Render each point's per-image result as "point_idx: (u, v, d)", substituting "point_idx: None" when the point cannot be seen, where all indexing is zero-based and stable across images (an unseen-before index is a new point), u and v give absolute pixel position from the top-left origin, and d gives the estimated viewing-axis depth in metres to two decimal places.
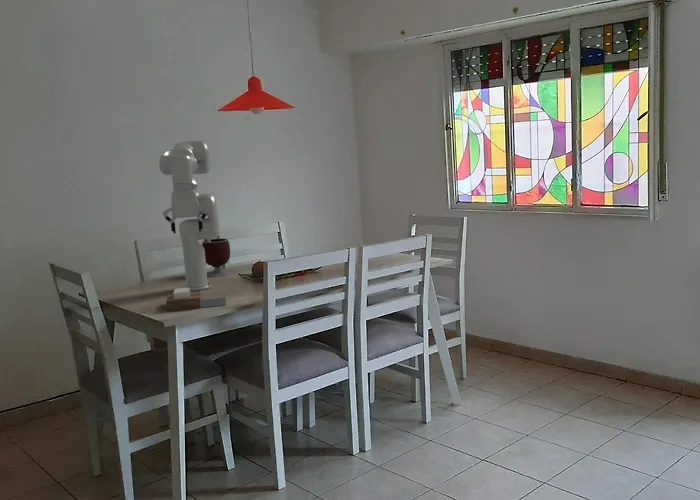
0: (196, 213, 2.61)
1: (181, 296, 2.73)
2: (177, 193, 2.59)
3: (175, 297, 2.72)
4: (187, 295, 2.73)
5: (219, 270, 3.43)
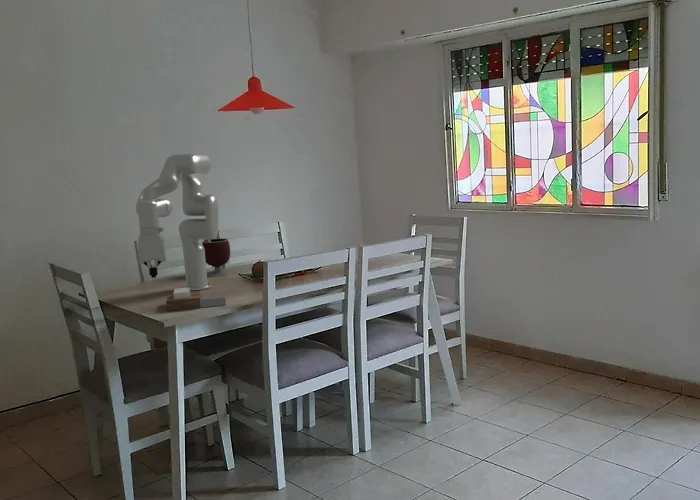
0: (162, 256, 2.71)
1: (181, 296, 2.73)
2: (143, 237, 2.68)
3: (175, 297, 2.72)
4: (187, 295, 2.73)
5: (219, 270, 3.43)
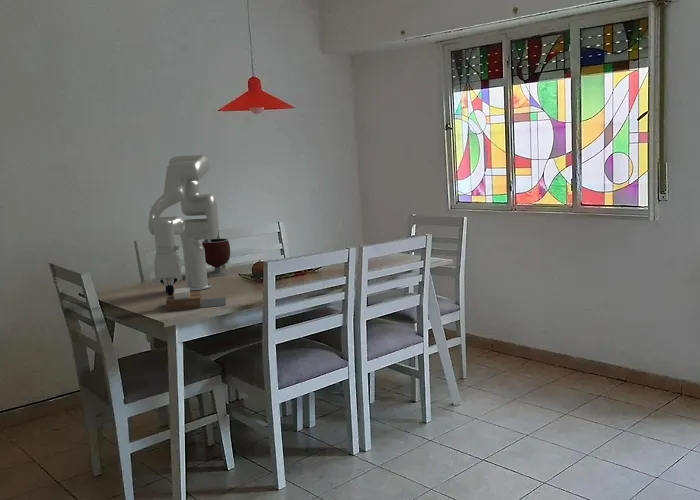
0: (178, 274, 2.74)
1: (181, 296, 2.73)
2: (160, 256, 2.71)
3: (175, 297, 2.72)
4: (187, 295, 2.73)
5: (219, 270, 3.43)
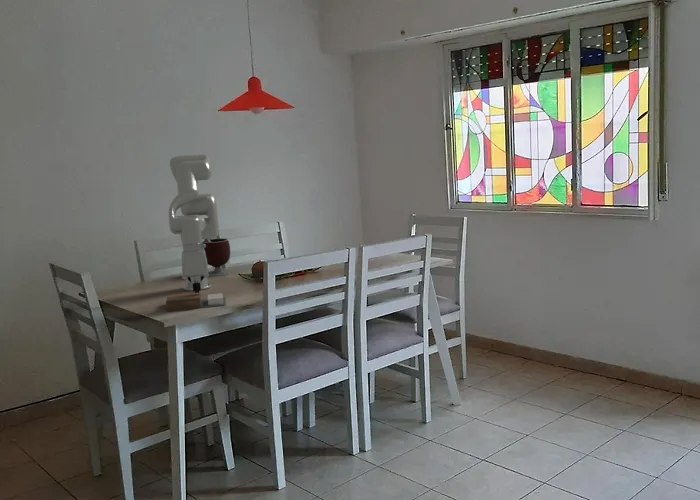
0: (205, 272, 2.75)
1: (215, 300, 2.75)
2: (187, 253, 2.73)
3: (221, 299, 2.76)
4: (209, 301, 2.75)
5: (219, 270, 3.43)
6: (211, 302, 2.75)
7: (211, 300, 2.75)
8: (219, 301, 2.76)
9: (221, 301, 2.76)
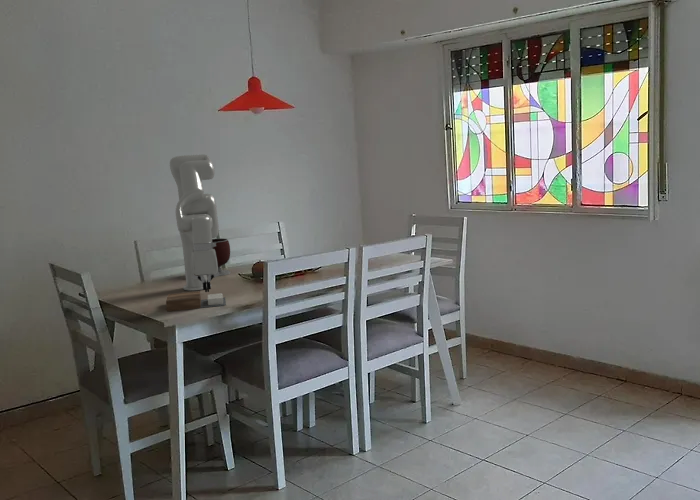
0: (215, 271, 2.76)
1: (215, 300, 2.75)
2: (197, 252, 2.73)
3: (221, 299, 2.76)
4: (209, 301, 2.75)
5: (219, 270, 3.43)
6: (211, 302, 2.75)
7: (211, 300, 2.75)
8: (219, 301, 2.76)
9: (221, 301, 2.76)
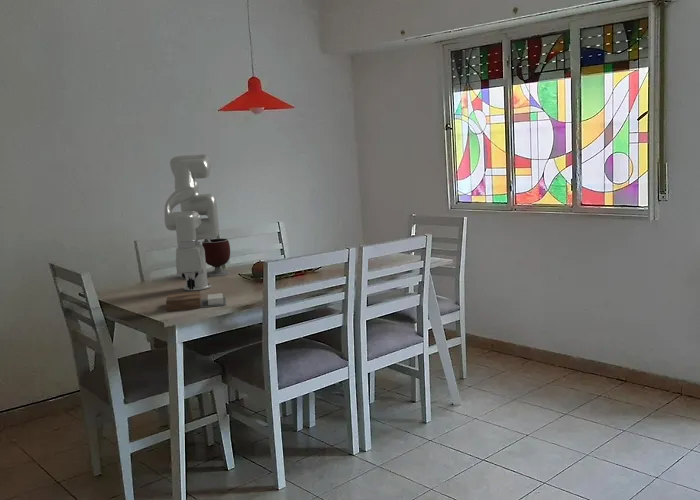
0: (199, 269, 2.75)
1: (215, 300, 2.75)
2: (181, 250, 2.72)
3: (221, 299, 2.76)
4: (209, 301, 2.75)
5: (219, 270, 3.43)
6: (211, 302, 2.75)
7: (211, 300, 2.75)
8: (219, 301, 2.76)
9: (221, 301, 2.76)
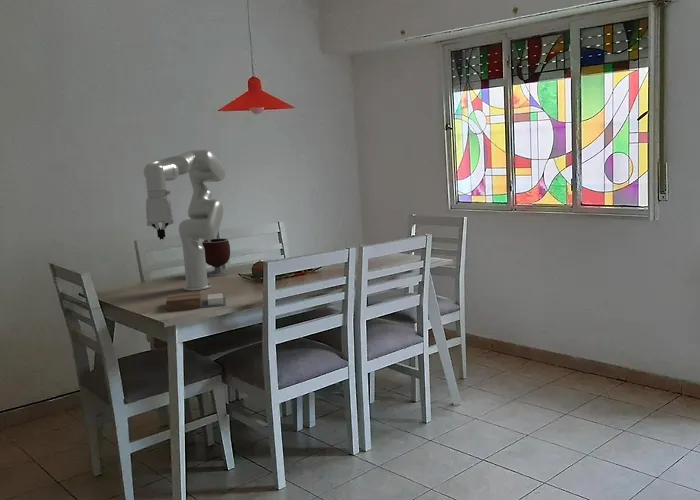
0: (169, 218, 2.80)
1: (215, 300, 2.75)
2: (151, 200, 2.77)
3: (221, 299, 2.76)
4: (209, 301, 2.75)
5: (219, 270, 3.43)
6: (211, 302, 2.75)
7: (211, 300, 2.75)
8: (219, 301, 2.76)
9: (221, 301, 2.76)
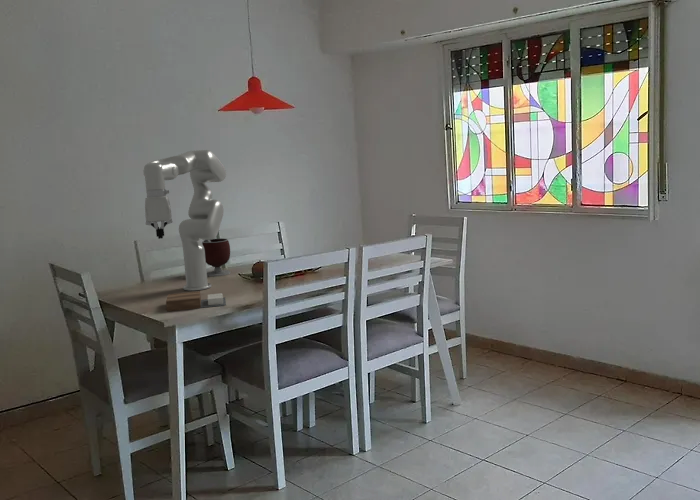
0: (168, 217, 2.80)
1: (215, 300, 2.75)
2: (150, 199, 2.77)
3: (221, 299, 2.76)
4: (209, 301, 2.75)
5: (219, 270, 3.43)
6: (211, 302, 2.75)
7: (211, 300, 2.75)
8: (219, 301, 2.76)
9: (221, 301, 2.76)
